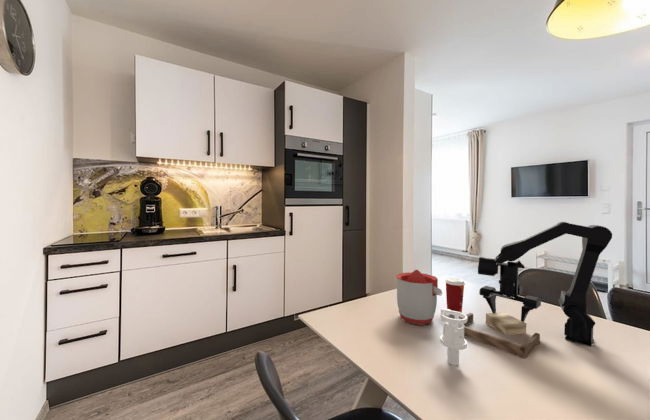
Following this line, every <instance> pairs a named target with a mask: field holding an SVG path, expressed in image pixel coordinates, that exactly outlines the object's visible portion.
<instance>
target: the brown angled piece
mask: <svg viewBox="0 0 650 420" xmlns="http://www.w3.org/2000/svg"><path fill="white" fill-rule="evenodd" d="M465 315H466V316H467V323H465V324H463V325H464V337H466V338H468V339H471V340H473V341H477V342H479V343H482V344H484V345H487V346H490V347H493V348H495V349H498V350H501V351H503V352H505V353H509V354H511V355H513V356H517V357H519V358H522V359H524V360H525V359H526V358H527V357H528V356H529V355H530V354H531V353H532V351H534V350H535V348H537V346H538V345H539V344H540V342H541V333H538V332H534V333H533V334H532V335H531V336H530V337H529V338H528V339H526V341H525V342H524V343H522V345H521V344H517V343H515V342H512V341H508V340H507V339H504V338H500V337H497V336H494V335H493V334H492V335H491V334H489V333H486V332H483V331H480V330H477V329H474V328H472V327H468V325H469V324H471V323H473V322H474V313H472V312H469V313H467V314H465ZM459 319H464V318H462V317H459ZM472 321H473V322H472ZM467 324H468V325H467Z"/></svg>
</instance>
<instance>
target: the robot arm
mask: <svg viewBox="0 0 650 420" xmlns="http://www.w3.org/2000/svg"><path fill="white" fill-rule="evenodd" d="M564 235H572V236H576V237H580V238H581V244H582V245H581V248H582V250H581V253H580V257H579V260H578V263H577V265H576V269H575V273H574V275H573V278H572V281H571V285H570V287H569V289H568V290H567V291H564V290H561V292H560V297H559V299H557V301H558V302H559V306H560V308H561V310H562V312H563V314H564V315H565V316H566V317H567V319H566V322H564V329H563V330H564V333H563V334H564V336H565V337H564V339H565V340H566V341H567V340H568V341H571V342H574V343H578V344H581V345H584V346H587V347H592V346H593V344H594V342H595V339H594V326H595V325H596V321H595V320H594V319H593V318H592V317H591V316H590V314H589V313H588V312H587V309H588V308H587V306H588V304H587V302H588V301H587V293H588V290H589V287H590V284H591V281H592V278H593V275H594V273H595V270H596V266H597V263H598V262H599V261H598V260H599V258H600V255H601V253H602V252H603V251H604V250H605V249H606V248H607V247H608V245H609V243H610V241H611V240H612V239H613V233H612V231H611V230H610V229H609V228H607V227H605V226H601V225H597V224H591V225H588V226H585V225H579V224H574V223H569V222H566V221H560V222H557V223H556V224H554V225H552V226H551V227H548V228H546V229H544V230H542V231H539V232H537V233H535V234H533V235H531V236H529V237H526V238H525V239H522V240H519V241H513V242H510V243H506V244H504V245H502V246H501V248H500V252H499V253H498V255H496V256H495V257H494V258H491V257H490V258H489V257H484V256H483V257H482V256H479V257H478V265H477V275H483V276H489V277H490V276H491V277H495V276H496V275H498V274H499V280H498V284H499V290H497V289H496V287H493V286H488V285H484V286H482V287H481V288H480V289H479V293H478V294H479V295H480V296H482V298H483V299H485V301H486V303H487V304H488V306H489V309H490V310H491V313H497V307H496V306H497V305H496V303H497V302H496V300H497V297H499V298H504V299H509V300H513V301H515V302H516V301H517V302H520V303H522V304H523V305H522V306H521V314H520V320H521V321H523V322H525V320H526V318H527V316H528V314H529V312H530V311H533V310H534V309H535V310H537V309H539V307H541V306H542V300H541V298H540V297H538V296H537V297H536V296H532V295H529V294H528V295H526V296H521V295H523V290H524V286H523V285H521V284H520V280H519V269H525V268H526V267H525V265H524V264H523V263H522V261H521V260H520V258H521V257H522V256H524V255H525V254H527V253H528V252H529V251H531V250H532V249H534V248H535V249H536V248H537V247H540V246H542V245H544V244H546V243H548V242H550V241H553V240H555V239H557V238H560V237H562V236H564ZM505 262H507V263H505Z"/></svg>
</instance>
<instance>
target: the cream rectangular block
mask: <svg viewBox="0 0 650 420" xmlns="http://www.w3.org/2000/svg"><path fill="white" fill-rule="evenodd" d="M487 323H488V324H487ZM485 324H487V325H488V326H490V325H491V326H490V327H492V328H493V329H495V328H496V329H495V330H497V331H498V332H500V333H503V334H504V335H505V336H509V335H526V334H527V322H525V321H524V322H523V321H521V319H518V318H516V317H514V316H512V315H510V314H508V313H507V312H503V311H502V312H496V313H492V312H487V313H485Z"/></svg>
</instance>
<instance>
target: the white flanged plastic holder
mask: <svg viewBox="0 0 650 420" xmlns="http://www.w3.org/2000/svg"><path fill="white" fill-rule="evenodd" d="M446 315H447V316H446ZM449 315H452V316H454V318H452V317H451V318H450V317H448V316H449ZM466 315H467V314H465V313H463V312H462V313H461V312H457V311H452V310H450V309H447V308H444V307H441V308H440V321H441V322H443V323H442V324H443V325H442V334H441V335H440V337H439V339H440V340H439V341H440V344H441V345H442V346H444V347H446V348H447V350H446V351H447V358H446V359H447V363H448V364H450V365H451V366H458V365H459V364H460V351H461V350H466V349H467V348H468V341H467V339H465V336H464V325H463V324H465V323H467V316H466ZM461 317H462V318H464V319H459V318H461Z"/></svg>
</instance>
